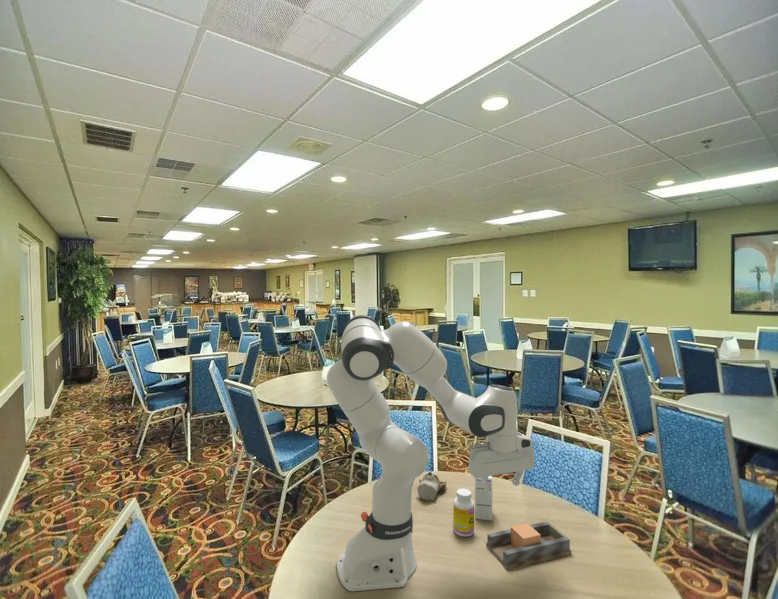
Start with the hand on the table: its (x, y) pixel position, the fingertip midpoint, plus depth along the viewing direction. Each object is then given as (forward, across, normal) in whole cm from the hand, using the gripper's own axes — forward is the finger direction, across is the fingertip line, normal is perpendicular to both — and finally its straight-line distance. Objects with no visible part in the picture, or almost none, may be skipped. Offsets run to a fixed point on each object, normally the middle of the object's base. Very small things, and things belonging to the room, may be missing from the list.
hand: (501, 487), depth 113 cm
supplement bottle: (+21, -5, +14) cm, 25 cm away
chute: (+21, +9, 0) cm, 22 cm away
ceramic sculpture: (+21, -7, +38) cm, 44 cm away
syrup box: (+21, +5, +20) cm, 29 cm away
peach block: (+20, +8, 0) cm, 21 cm away
